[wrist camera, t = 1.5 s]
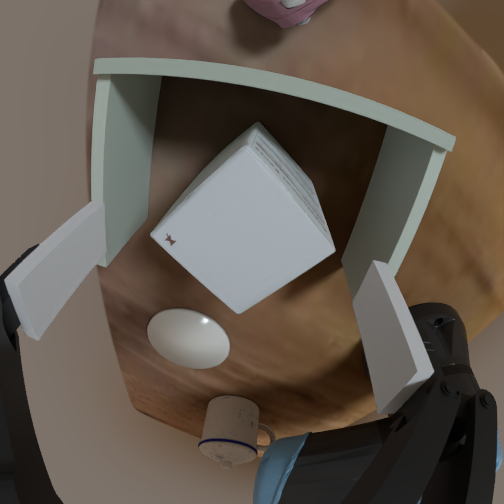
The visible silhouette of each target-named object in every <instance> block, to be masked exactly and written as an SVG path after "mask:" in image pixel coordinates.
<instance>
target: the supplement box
mask: <svg viewBox="0 0 504 504" xmlns="http://www.w3.org/2000/svg"><path fill="white" fill-rule="evenodd" d="M150 236H151V237H152V238H153V239H154V240H155V241H156V242H157V243H158V244H159V245H160V246H161V247H162V248H163V249H165V250H166V251H167V252H168V253H169V254H170V255H171V256H172V257H173V258H174V259H175V260H176V261H177V262H179V263H180V264H181V265H182V266H183V267H184V268H185V269H186V270H187V271H188V272H189V273H191V274H192V275H193V276H194V277H195V278H196V279H197V280H199V281H200V282H201V283H202V284H203V285H204V286H205V287H206V288H207V289H209V290H210V291H211V292H212V293H213V294H214V295H216V296H217V297H218V298H219V299H220V300H221V301H222V302H224V303H225V304H226V305H227V306H228V307H229V308H231V309H232V310H233V311H234V312H236V313H237V314H241V313H243V312H244V311H246V310H247V309H249V308H250V307H252V306H253V305H255V304H256V303H258V302H260V301H261V300H263V299H264V298H266V297H267V296H269V295H271V294H272V293H274V292H275V291H277V290H278V289H280V288H281V287H283V286H284V285H286V284H287V283H289V282H290V281H292V280H294V279H295V278H297V277H298V276H300V275H301V274H303V273H304V272H306V271H307V270H309V269H310V268H312V267H313V266H315V265H316V264H318V263H319V262H321V261H322V260H324V259H325V258H326V257H328V256H329V255H331V254H333V253H334V252H335V247H334V244H333V241H332V238H331V235H330V232H329V229H328V226H327V223H326V220H325V217H324V215H323V212H322V209H321V206H320V203H319V200H318V198H317V195H316V192H315V189H314V186H313V183H312V181H311V180H310V179H309V178H308V176H307V175H306V174H305V173H304V172H303V170H302V169H301V168H300V167H299V166H298V165H297V163H296V162H295V161H294V160H293V159H292V158H291V156H290V155H289V154H288V153H287V152H286V151H285V150H284V148H283V147H282V146H281V145H280V144H279V143H278V142H277V141H276V139H275V138H274V137H273V136H272V135H271V134H270V133H269V132H268V131H267V130H266V128H265V127H264V126H263V125H262V124H261V123H260V122H258V121H257V122H256V123H254V124H253V125H252V126H251V127H249V128H248V129H247V130H246V131H244V132H243V133H242V134H241V135H240V136H238V137H237V138H236V139H235V140H234V141H232V142H231V143H230V144H229V145H228V146H227V147H226V148H225V149H223V150H222V151H221V152H220V153H219V154H218V155H217V156H216V157H215V158H214V159H213V160H212V161H211V162H210V163H209V164H208V165H207V166H206V167H205V168H204V169H203V170H202V171H201V172H200V173H199V174H198V175H197V177H196V178H195V179H194V180H193V181H192V183H191V184H190V185H189V186H188V187H187V188H186V190H185V191H184V192H183V193H182V194H181V196H180V197H179V198H178V199H177V201H176V202H175V203H174V204H173V205H172V207H171V208H170V209H169V210H168V212H167V213H166V214H165V215H164V217H163V218H162V219H161V220H160V222H159V223H158V224H157V226H156V227H155V228H154V229H153V231H152V232H151V233H150Z"/></svg>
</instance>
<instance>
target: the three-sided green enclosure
mask: <svg viewBox="0 0 504 504" xmlns="http://www.w3.org/2000/svg"><path fill="white" fill-rule="evenodd" d="M93 74H98V79H97V87H96V95H95V105H94V117H93V132H92V155H91V198H92V201H94V202H100V203H105V230H106V247H107V252H106V253H105V254H104V255H103V256H102V258H101V259H100V260H99V261H98V262H97V264H96V265H100V266H104V267H107V266H108V265H109V264H110V262H111V261H112V260H113V259H114V257H115V256H116V255H117V254H118V253H119V251H120V250H121V249H122V248H123V247H124V245H125V244H126V243H127V242H128V241H129V239H130V238H131V237H132V236H133V235H134V234H135V232H136V231H137V230H138V229H139V228H140V227H141V226H142V224H143V223H144V222H145V221H146V220H147V219H148V200H149V184H150V171H151V160H152V149H153V140H154V131H155V123H156V115H157V108H158V101H159V94H160V88H161V82H162V76H174V77H185V78H195V79H203V80H211V81H218V82H225V83H232V84H238V85H244V86H249V87H255V88H260V89H265V90H270V91H275V92H279V93H284V94H288V95H292V96H296V97H300V98H304V99H308V100H312V101H316V102H319V103H323V104H326V105H330V106H333V107H337V108H340V109H343V110H346V111H349V112H353V113H356V114H359V115H362V116H365V117H368V118H370V119H373V120H376V121H379V122H382V123H384V124H387V125H388V126H387V129H386V133H385V136H384V139H383V143H382V146H381V149H380V152H379V156H378V159H377V162H376V165H375V168H374V171H373V174H372V177H371V180H370V183H369V186H368V189H367V192H366V195H365V198H364V201H363V203H362V206H361V209H360V212H359V215H358V217H357V220H356V223H355V225H354V228H353V231H352V233H351V236H350V239H349V241H348V244H347V246H346V249H345V251H344V254H343V256H342V259H341V262H342V265H343V269H344V272H345V275H346V278H347V282H348V285H349V289H350V292H351V296H352V299H353V301H354V299H355V297H356V295H357V293H358V291H359V289H360V286H361V284H362V282H363V280H364V278H365V276H366V274H367V272H368V270H369V268H370V265H371V263H372V261H373V260H375V261H380V262H384V263H387V265H388V267H389V269H390V271H391V273H392V275H393V277H395V275H396V273H397V271H398V269H399V267H400V265H401V263H402V261H403V259H404V257H405V255H406V252H407V250H408V248H409V246H410V244H411V242H412V239H413V237H414V235H415V233H416V230H417V228H418V226H419V224H420V221H421V219H422V216H423V214H424V212H425V209H426V207H427V204H428V202H429V199H430V197H431V194H432V191H433V189H434V186H435V183H436V181H437V178H438V175H439V172H440V170H441V167H442V164H443V161H444V158H445V155H446V152H447V150H448V151H450V152H452V150H453V146H454V143H455V140H456V137H454V136H452V135H450V134H449V133H447V132H445V131H443V130H440V129H438V128H436V127H434V126H432V125H430V124H428V123H426V122H424V121H421V120H419V119H417V118H415V117H412V116H410V115H408V114H405V113H403V112H400V111H398V110H396V109H393V108H390V107H388V106H385V105H383V104H380V103H377V102H375V101H372V100H369V99H366V98H363V97H361V96H358V95H355V94H352V93H348V92H345V91H342V90H339V89H336V88H332V87H329V86H325V85H322V84H318V83H315V82H311V81H307V80H303V79H299V78H295V77H291V76H286V75H282V74H277V73H273V72H268V71H263V70H257V69H252V68H246V67H240V66H233V65H227V64H219V63H211V62H202V61H192V60H180V59H163V58H99V59H95V64H94V71H93Z"/></svg>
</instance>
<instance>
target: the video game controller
mask: <svg viewBox="0 0 504 504" xmlns="http://www.w3.org/2000/svg"><path fill="white" fill-rule="evenodd" d="M327 1H328V0H244V2H245V3H246V4H247V5H248V6H249V7H250V8H251V9H253V10H254V11H256V12H257V13H259V14H261V15H262V16H264V17H266V18H268V19H270V20H272V21H274V22H276V23H277V24H278V25H279V26H280V27H281V28H289V27H291V26H294V25H296V24H297V25H298V26H301V25H305V24H307V23H308V22H309V20H310V18H311V17H310V15H311V14H313V13H314V12H315V10H316V9H317V7H318V6H320V5H321V4H323V3H325V2H327Z"/></svg>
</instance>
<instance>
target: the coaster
mask: <svg viewBox="0 0 504 504" xmlns="http://www.w3.org/2000/svg"><path fill="white" fill-rule="evenodd" d="M147 334H148V338H149V341H150V343H151V345H152V346H153V347H154V349H155V350H156V351H157V352H158V353H159V354H160V355H162V356H163V357H164V358H166V359H167V360H169V361H171V362H173V363H175V364H177V365H180V366H184V367H188V368H194V369H205V368H211V367H214V366H217V365H219V364H220V363H222V362H223V361H224V360H225V359H226V358H227V356H228V354H229V350H230V340H229V337H228V335H227V333H226V331H225V330H224V328H223V327H222V326H221V325H220V324H219V323H218V322H216V321H215V320H214V319H212V318H211V317H209V316H207V315H205V314H203V313H201V312H198V311H195V310H192V309H187V308H168V309H165V310H162V311H160V312H158V313H156V314H155V315H154V316H153V317H152V319H151V320H150V322H149V325H148V328H147Z"/></svg>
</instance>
